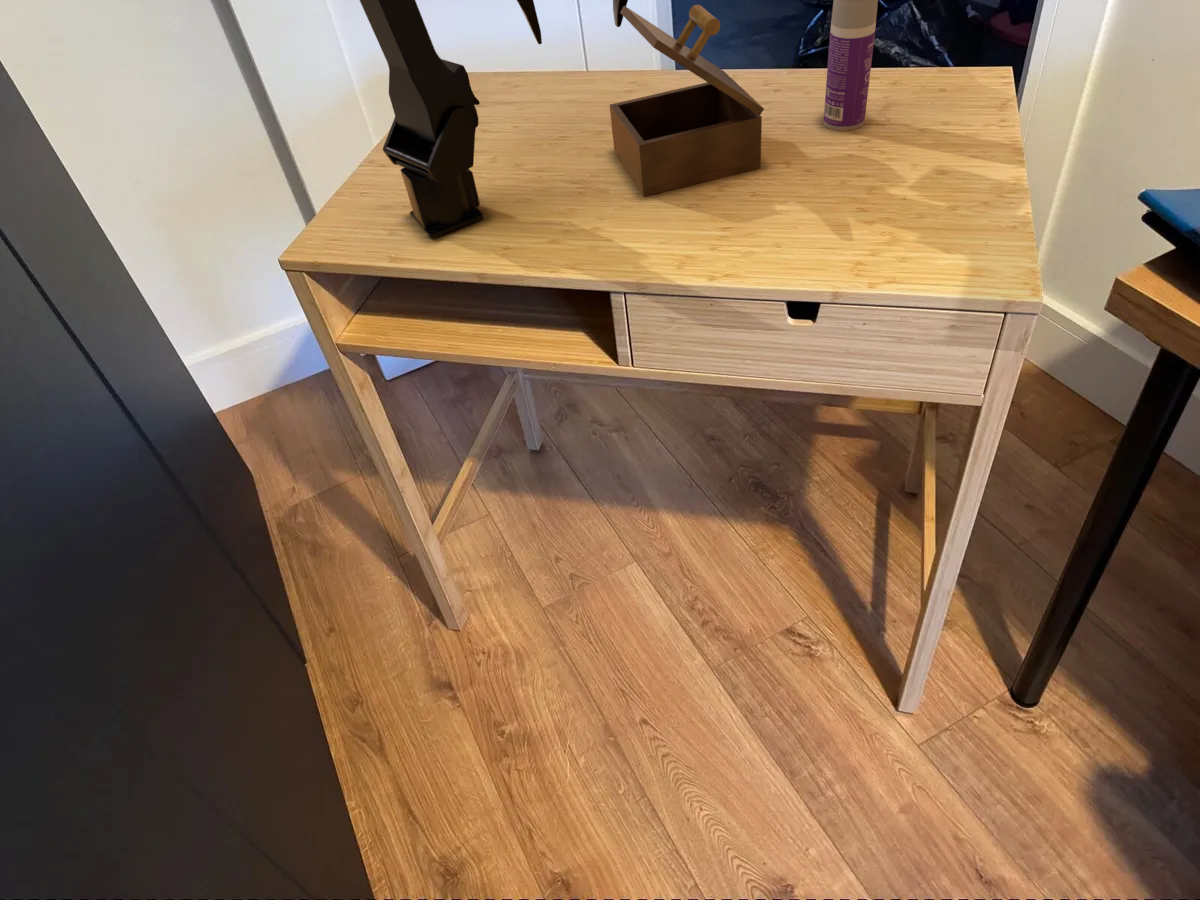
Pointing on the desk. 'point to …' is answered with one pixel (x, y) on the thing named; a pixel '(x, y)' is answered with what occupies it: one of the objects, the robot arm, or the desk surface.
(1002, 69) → the desk surface
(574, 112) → the desk surface
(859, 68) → the container
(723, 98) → the compartment
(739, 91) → the box door
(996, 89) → the desk surface
